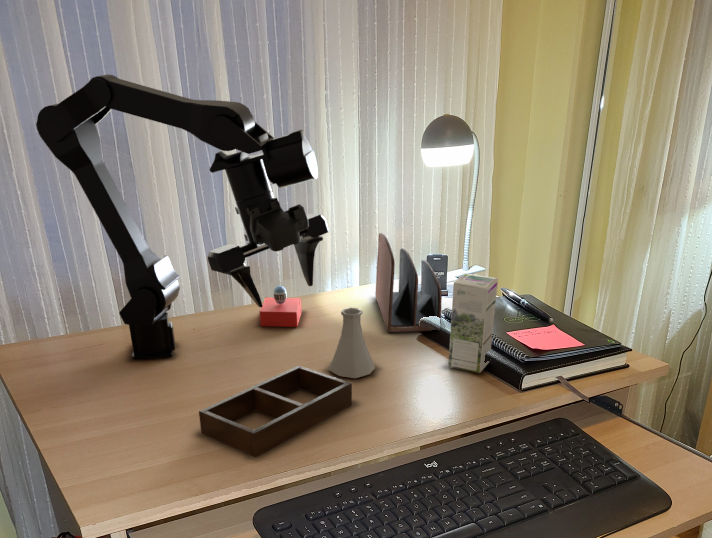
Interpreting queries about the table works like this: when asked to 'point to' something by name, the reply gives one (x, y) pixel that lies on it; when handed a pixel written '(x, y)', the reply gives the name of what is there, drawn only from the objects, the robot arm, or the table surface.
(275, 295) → the red slab
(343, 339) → the flask
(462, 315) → the syrup box
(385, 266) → the letter holder
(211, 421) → the walnut divided tray
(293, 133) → the robot arm
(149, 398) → the table surface
